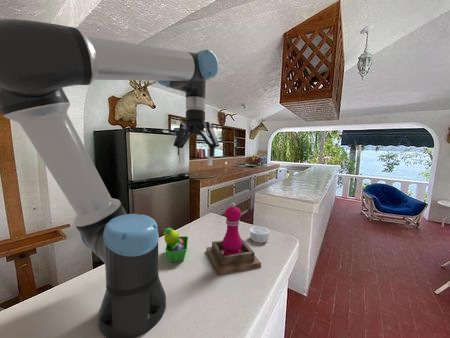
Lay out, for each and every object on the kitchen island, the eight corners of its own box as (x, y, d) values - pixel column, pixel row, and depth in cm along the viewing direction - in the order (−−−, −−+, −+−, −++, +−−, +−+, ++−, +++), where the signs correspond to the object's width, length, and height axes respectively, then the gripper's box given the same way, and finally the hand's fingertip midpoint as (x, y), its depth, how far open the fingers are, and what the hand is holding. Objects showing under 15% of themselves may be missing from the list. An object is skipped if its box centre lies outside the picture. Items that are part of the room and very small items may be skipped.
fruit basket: (187, 263, 71) (187, 233, 70) (161, 265, 69) (161, 234, 68) (188, 247, 82) (188, 221, 81) (166, 249, 81) (165, 222, 80)
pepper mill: (244, 253, 75) (246, 202, 73) (235, 262, 69) (237, 206, 67) (228, 248, 79) (229, 199, 77) (218, 255, 73) (219, 203, 71)
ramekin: (269, 244, 86) (269, 235, 86) (248, 242, 88) (249, 233, 88) (268, 236, 95) (269, 227, 95) (250, 234, 97) (250, 225, 96)
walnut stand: (217, 274, 64) (217, 261, 64) (206, 251, 80) (206, 240, 79) (261, 266, 69) (261, 254, 69) (242, 245, 85) (243, 235, 84)
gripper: (228, 109, 75) (227, 165, 77) (176, 114, 86) (177, 162, 88) (219, 105, 68) (218, 166, 70) (164, 110, 79) (164, 163, 81)
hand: (195, 164), depth 79 cm, fingers open, 13 cm apart
